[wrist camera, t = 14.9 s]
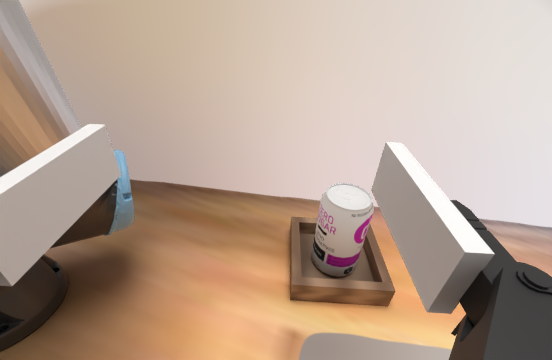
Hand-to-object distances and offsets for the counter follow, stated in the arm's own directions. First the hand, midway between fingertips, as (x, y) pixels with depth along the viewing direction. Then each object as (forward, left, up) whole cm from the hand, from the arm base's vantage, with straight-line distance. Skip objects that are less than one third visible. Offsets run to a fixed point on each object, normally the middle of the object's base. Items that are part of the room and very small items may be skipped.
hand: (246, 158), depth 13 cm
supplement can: (+13, +23, -33) cm, 42 cm away
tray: (+13, +23, -34) cm, 43 cm away
